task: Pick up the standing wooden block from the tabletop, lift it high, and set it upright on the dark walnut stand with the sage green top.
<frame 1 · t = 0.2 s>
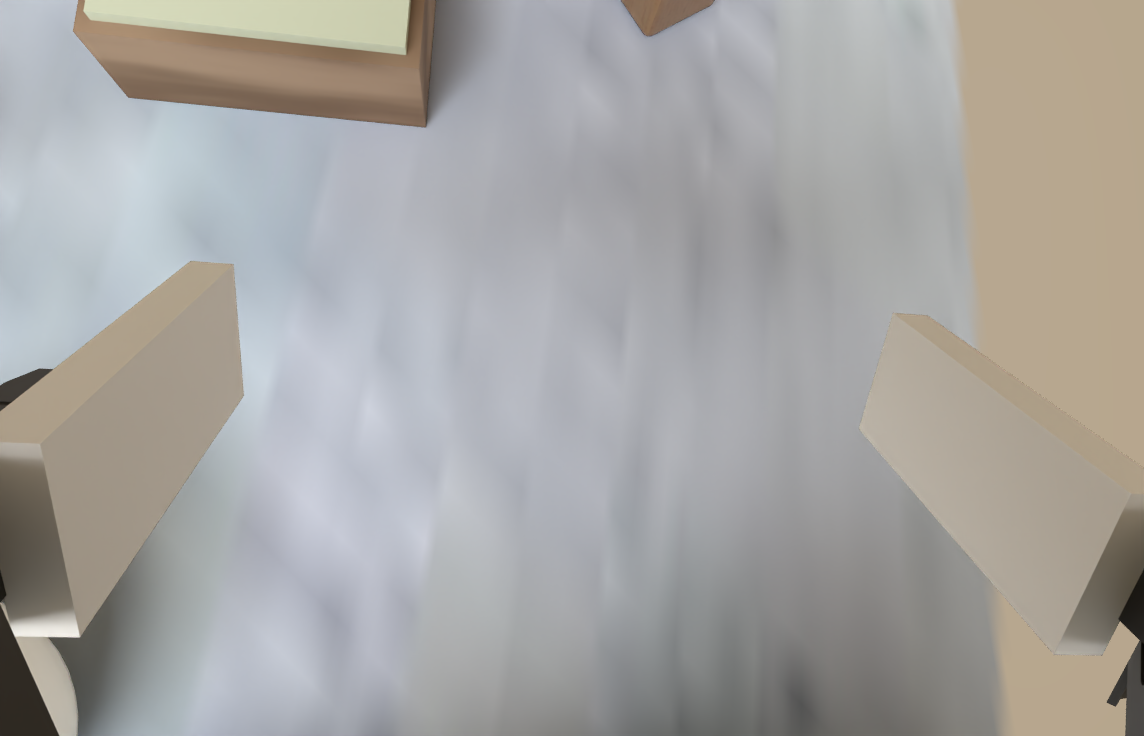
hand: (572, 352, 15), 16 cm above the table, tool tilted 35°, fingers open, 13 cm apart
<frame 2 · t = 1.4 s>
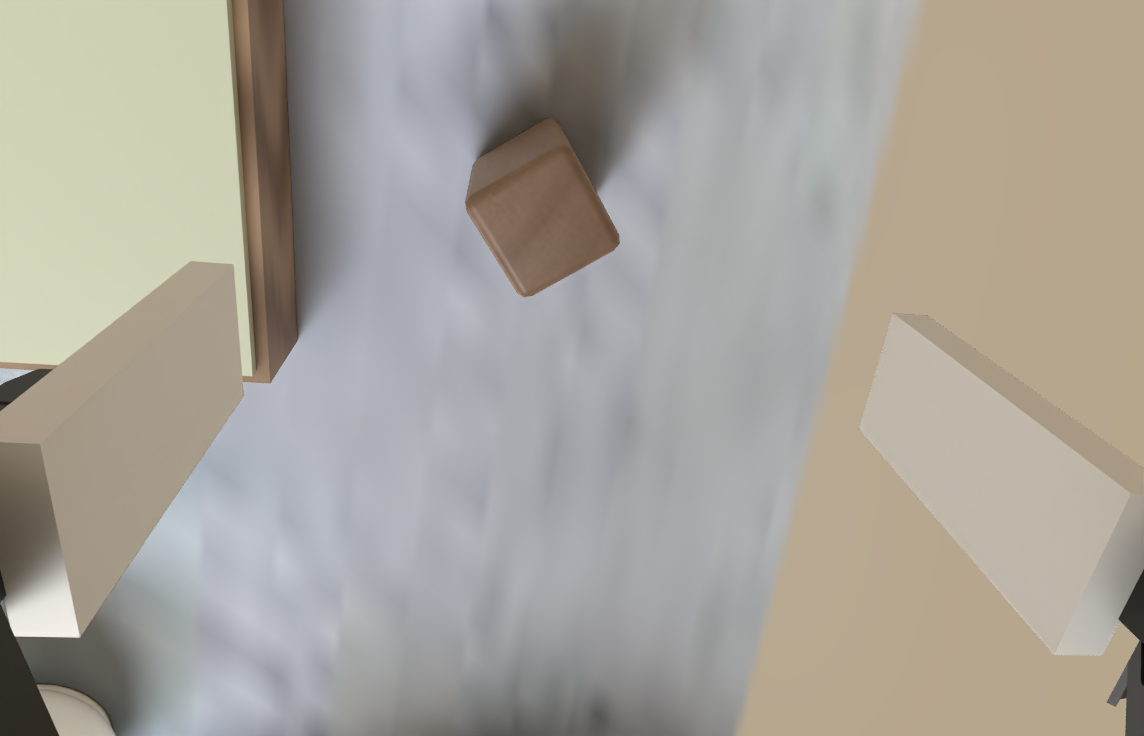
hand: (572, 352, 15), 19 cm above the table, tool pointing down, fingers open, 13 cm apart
walnut stand: (130, 117, 30), on the table
lidded jar: (54, 721, 42), on the table
wooden block: (534, 179, 33), on the table
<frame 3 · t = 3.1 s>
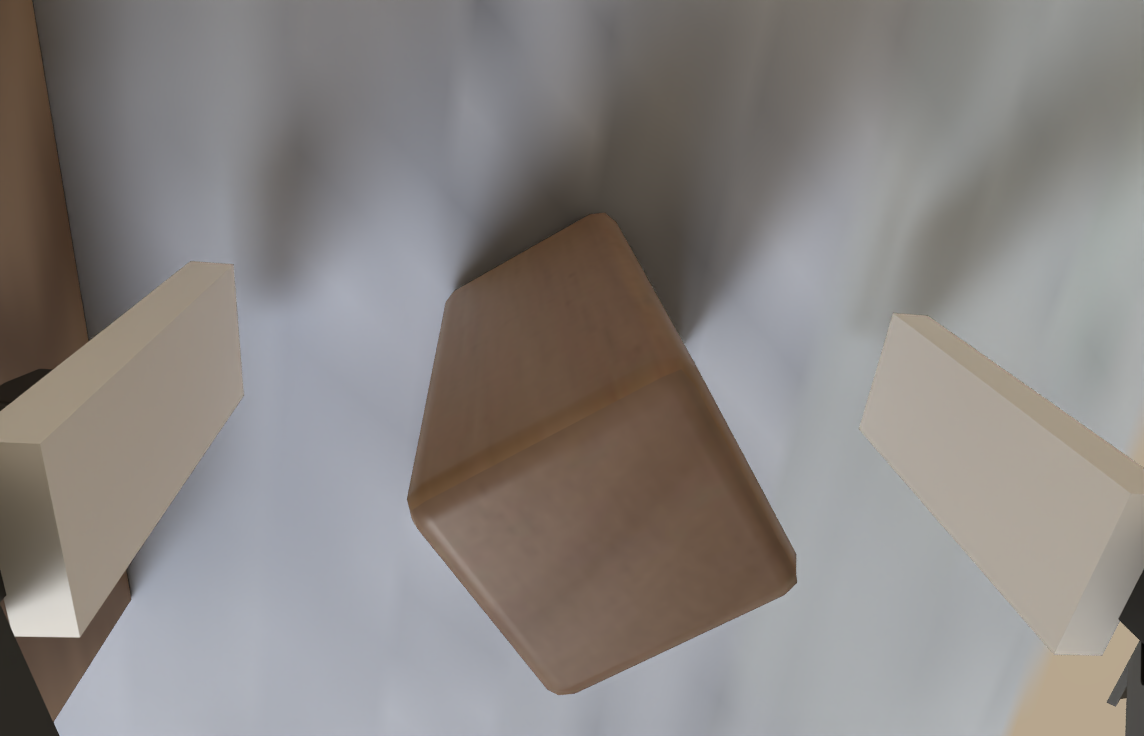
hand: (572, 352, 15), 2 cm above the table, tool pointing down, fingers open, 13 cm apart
wooden block: (565, 321, 17), on the table
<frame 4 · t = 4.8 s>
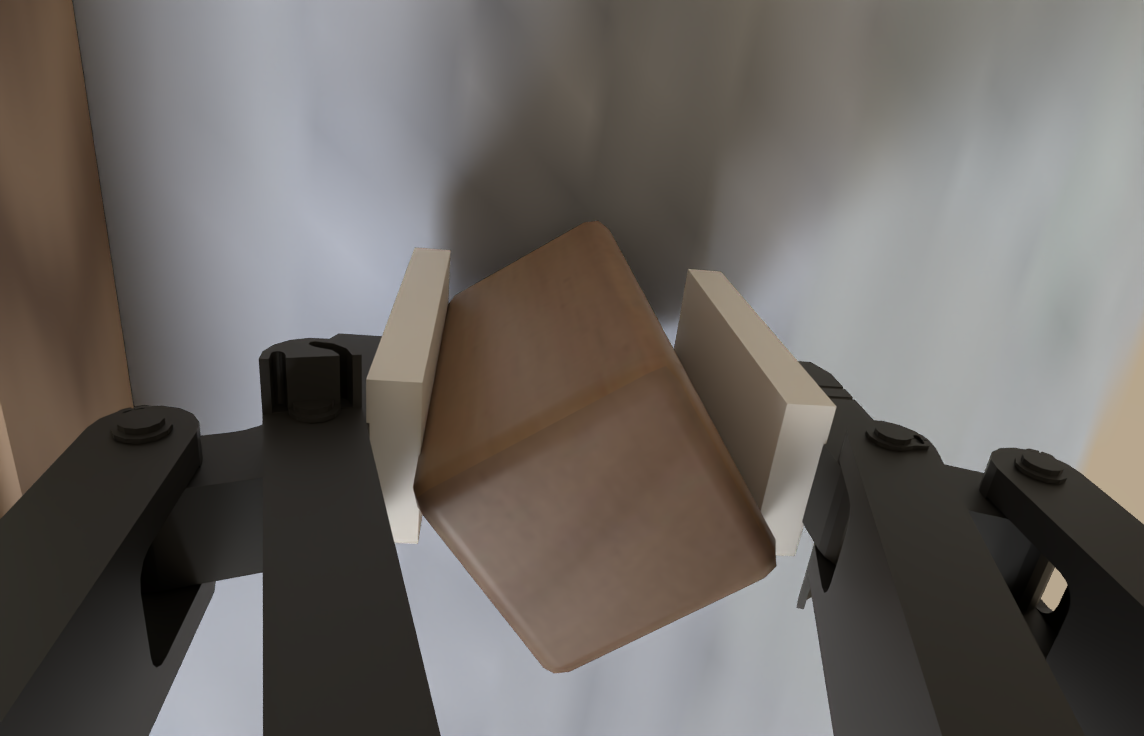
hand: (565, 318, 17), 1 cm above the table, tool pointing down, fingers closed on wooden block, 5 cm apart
wooden block: (561, 324, 18), on the table, touching gripper
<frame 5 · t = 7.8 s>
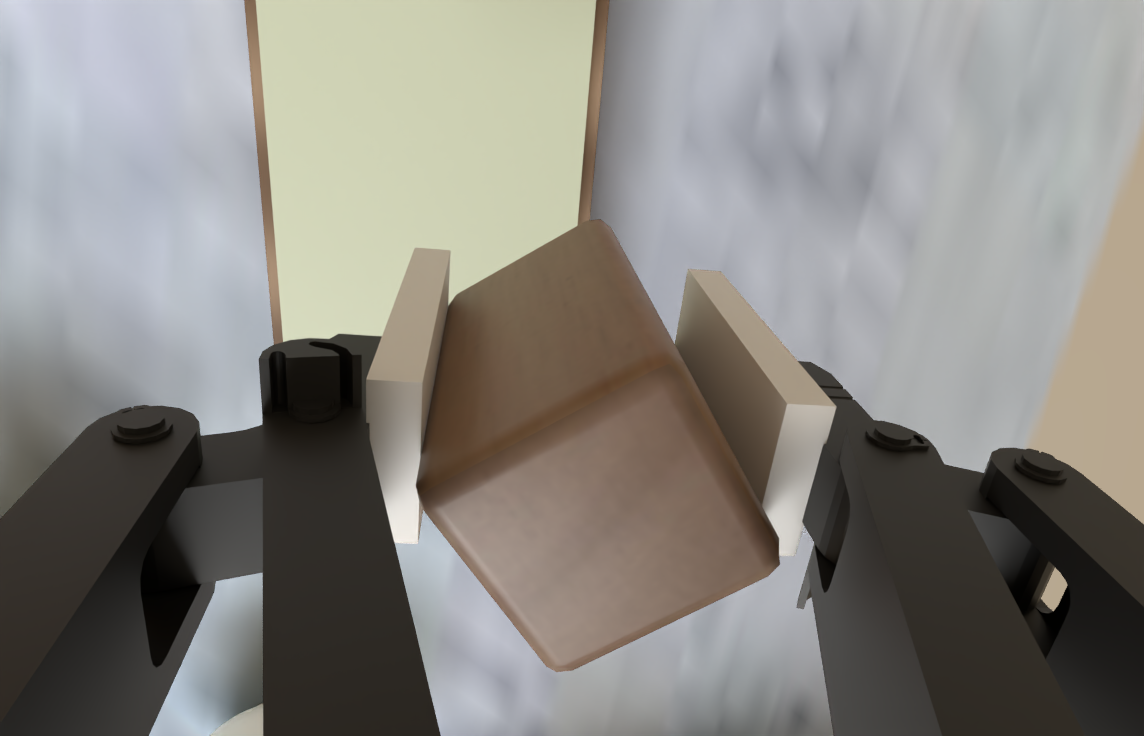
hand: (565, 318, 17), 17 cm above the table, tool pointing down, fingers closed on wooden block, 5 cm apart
walnut stand: (438, 171, 32), on the table
lidded jar: (296, 731, 45), on the table
wooden block: (563, 323, 18), point 17 cm above the table, touching gripper
when the fingers open (6 cm above the table, at t = 10.8 s): wooden block stays where it is, resting on walnut stand.
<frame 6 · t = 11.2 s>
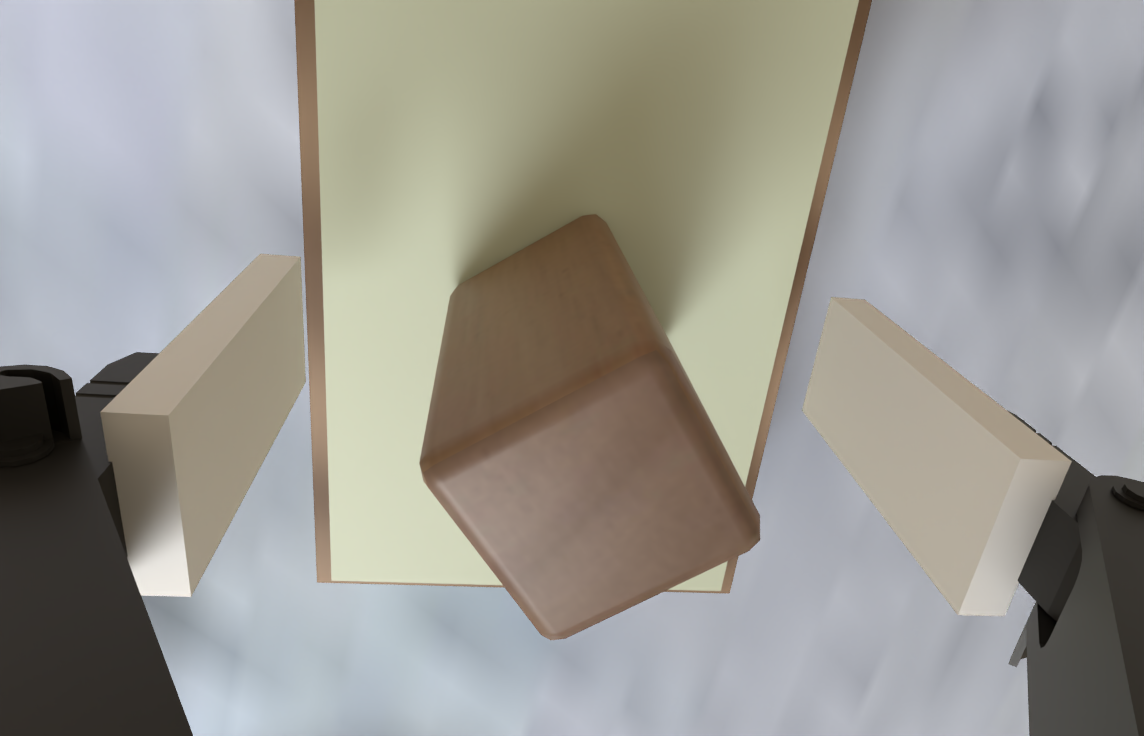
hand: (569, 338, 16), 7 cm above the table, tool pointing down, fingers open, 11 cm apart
walnut stand: (549, 244, 23), on the table
wooden block: (560, 313, 18), point 5 cm above the table, touching walnut stand
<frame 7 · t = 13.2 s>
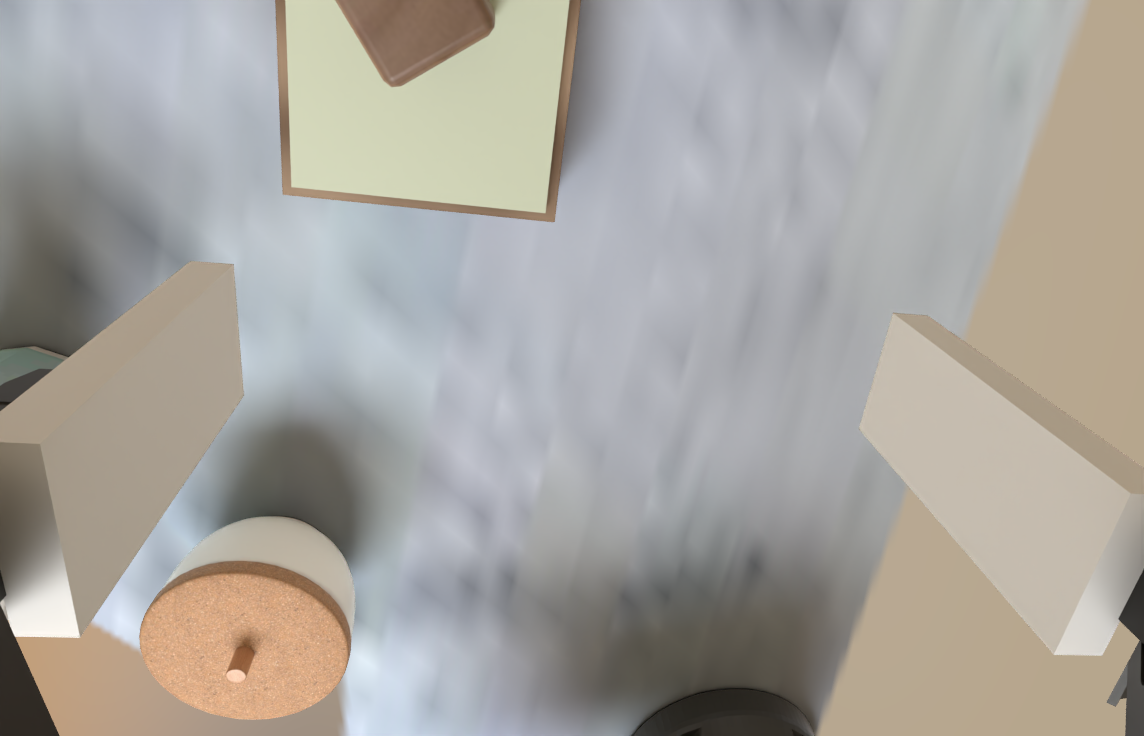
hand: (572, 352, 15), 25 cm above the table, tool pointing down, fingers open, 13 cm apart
disposable coffee cup: (48, 400, 42), on the table
lidded jar: (283, 553, 48), on the table
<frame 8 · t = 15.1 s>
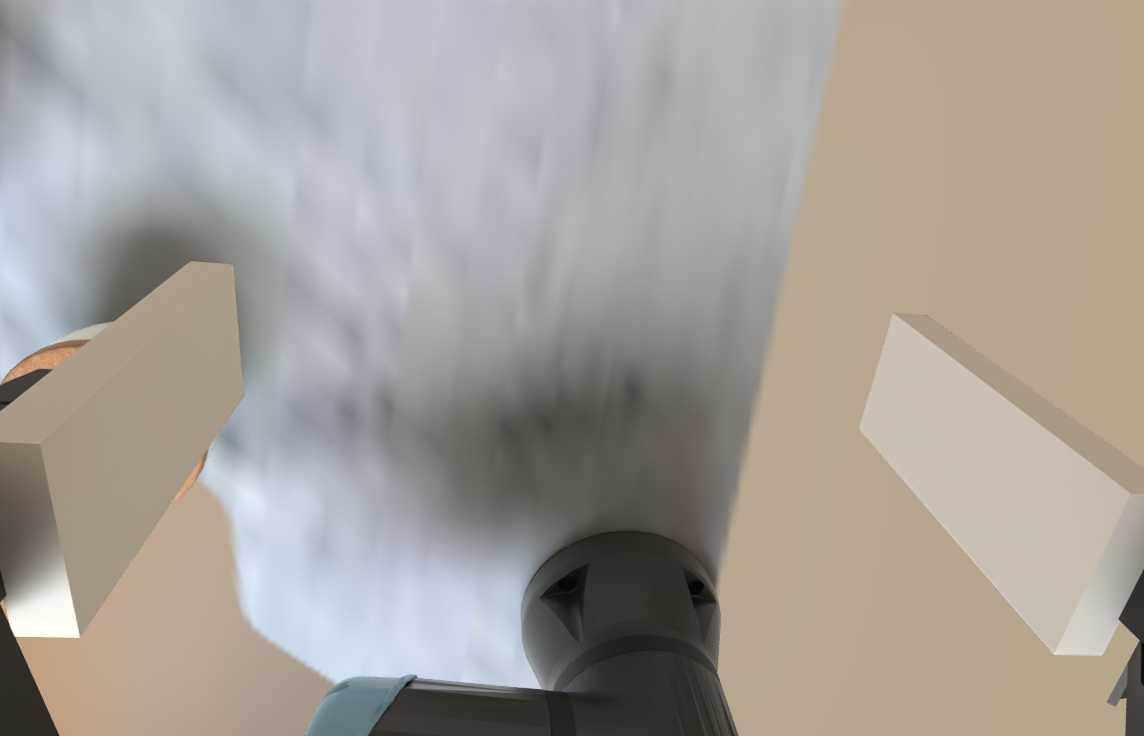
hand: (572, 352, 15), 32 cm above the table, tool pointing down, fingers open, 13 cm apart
lidded jar: (159, 375, 49), on the table
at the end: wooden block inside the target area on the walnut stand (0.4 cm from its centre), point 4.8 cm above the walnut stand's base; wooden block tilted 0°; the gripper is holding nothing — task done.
